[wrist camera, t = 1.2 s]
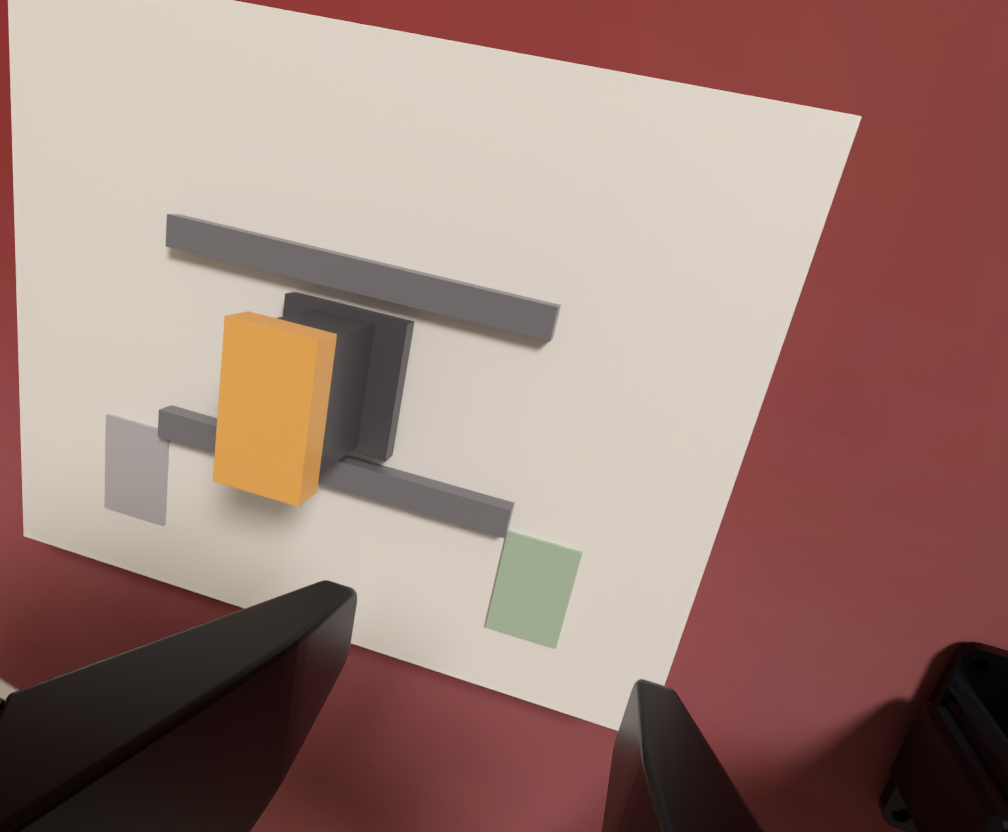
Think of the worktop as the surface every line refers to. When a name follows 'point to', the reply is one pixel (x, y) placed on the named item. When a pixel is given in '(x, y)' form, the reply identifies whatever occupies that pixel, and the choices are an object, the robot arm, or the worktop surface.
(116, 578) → the worktop surface
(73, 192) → the breaker box
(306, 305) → the breaker toggle
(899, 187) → the worktop surface
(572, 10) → the worktop surface
